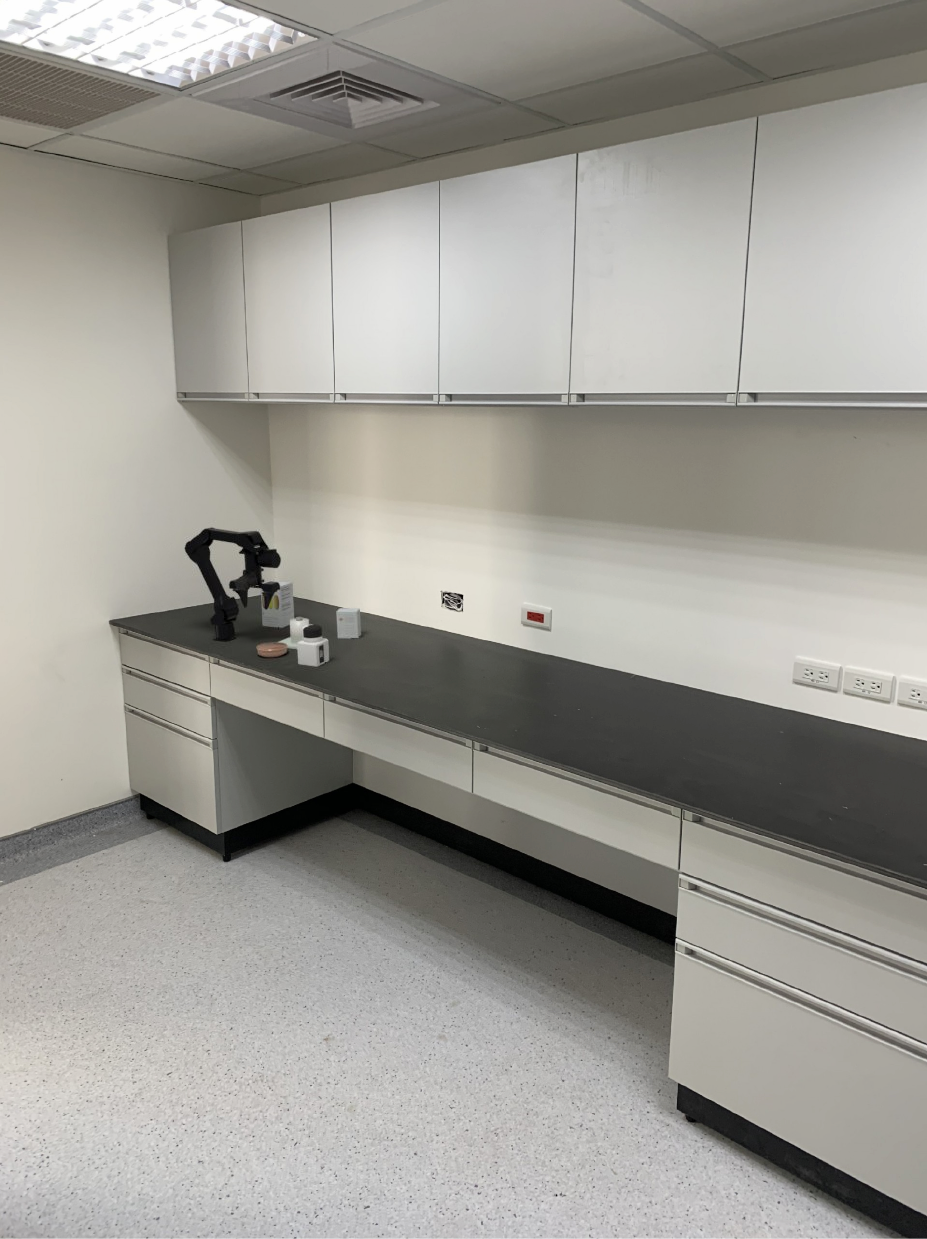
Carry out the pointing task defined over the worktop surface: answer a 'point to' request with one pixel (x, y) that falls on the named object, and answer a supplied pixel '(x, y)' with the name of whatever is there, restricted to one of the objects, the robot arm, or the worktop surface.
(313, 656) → the container
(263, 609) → the supplement box
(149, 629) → the worktop surface
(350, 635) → the small box
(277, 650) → the bowl
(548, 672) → the worktop surface
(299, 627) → the bottle
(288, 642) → the mat
